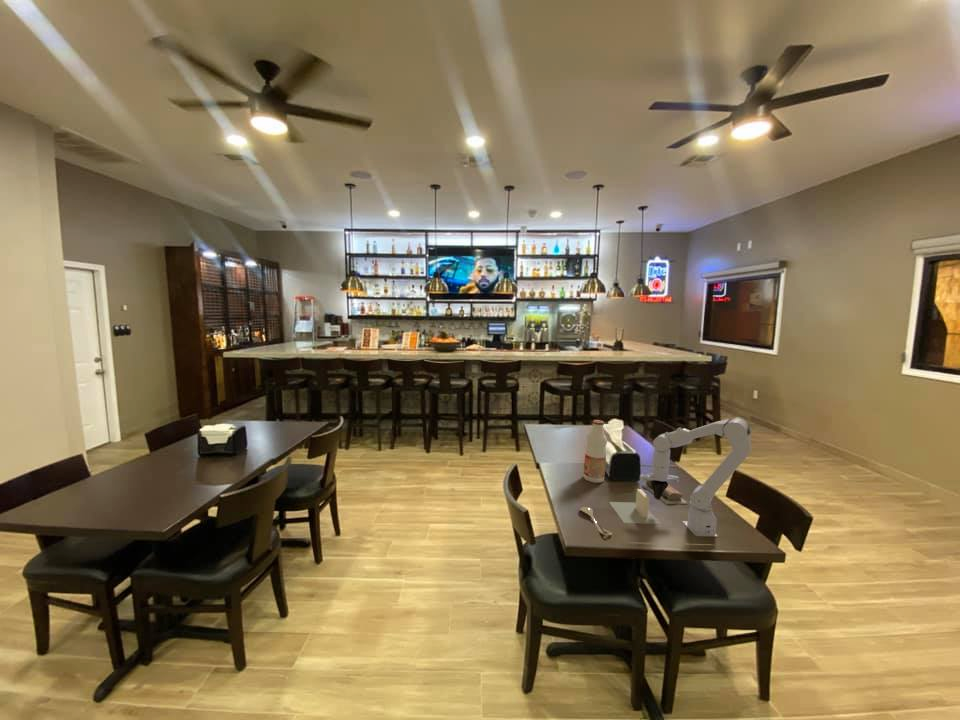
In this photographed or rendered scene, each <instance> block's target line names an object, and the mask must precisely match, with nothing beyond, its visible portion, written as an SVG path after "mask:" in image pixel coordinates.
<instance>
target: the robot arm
mask: <svg viewBox="0 0 960 720" xmlns="http://www.w3.org/2000/svg"><path fill="white" fill-rule="evenodd" d="M711 435H717V436H720V437H724V436H725V437H726V438H727V439H728V440H729V442H730V444H731V448H732V449H731V451H730V452H729V453H728V454H727V456H726V457H724V459H723V460H722V461H721V462H720V464H719V465H718V466H717V467H716V468H715V469H714V471H713V472H712V473H711V474H710V475H709V477H708V478H706V480H705V481H704V482H703V483H702V484H698V485H697V486H696V487H695V488H694V490H693V492H692V493H691V494H690V496H689V507H688V515H687V520H683V521H681V523H683V525H684V526H685V527H687V529H689V531H690V532H691V533H692V534H693V535H694V536H696V537H716V538H718V534H717V523H718V519H717V517H716V515H715V514H714V512H713V505H712V503H711V501H712V500H714V498H715V497H714V496H715V494H716V493H717V492H718V490H719V489H720V488H721V487H722V486H723V485H724V483H726V481H727V480H728V479H729V478H730V477H731V476H732V475H733V473H734V472H735V471H736V470H737V469H738V468H739V467H740V466H741V464H742V463H744V461H745V460H746V459H747V457H749V455H750V453H752V430H751V428H750V425H749V423H748V422H747V420H745V419H744V418H743V417H738V416H737V417H733V418H730V420H729V418H727V419H721V420H718V421H715V422H714V421H713V422H711V423H708V424H706V425H703V426H702V425H701V426H700V427H696V428H693V429H691V430H690V429H688V428H682V427H678V428H676V430H673V431H671V432H668V431H666V432H664V433H661V434H659V435H658V436H657V437H655V438H654V439H653V442H652V443H653V447H654V452H653V458H652V469H651V473H645V474H643V473H642V474H639V480H640V481H641V482H645V481H650V482H651V484H652V487H653V491H654V494H653V497H654V499H655V500H657V501H659V500H660V498H661V496H662V494H663V492H664V490H665V489H666V488H667V487H668V485H669V482H674V483H679V481H680V476H677V475H672V474H669V468H670V458H671V448H674V449H675V448H679V447H682V446H686V445H689V444H692V442H693V440H694V439H698V438H702V437H703V438H704V437H707V436H711ZM660 501H661V500H660Z"/></svg>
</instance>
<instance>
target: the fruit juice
mask: <svg viewBox="0 0 960 720" xmlns="http://www.w3.org/2000/svg"><path fill="white" fill-rule="evenodd" d="M604 425H605V422H604V421H603V420H600V419H593V420H592V428H591V431H590V432H589V433H588V434H587V436H586V447H585V452H584V464H583V473H582V475H583V478H584V480H585V481H586V482H590V483H593V484H594V483H595V484H599V483H602V482H604V480H605V474H606V463H607V461H606V460H607V448H606V446H607V445H608V438H607V436H606V434H605V431H604Z"/></svg>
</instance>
